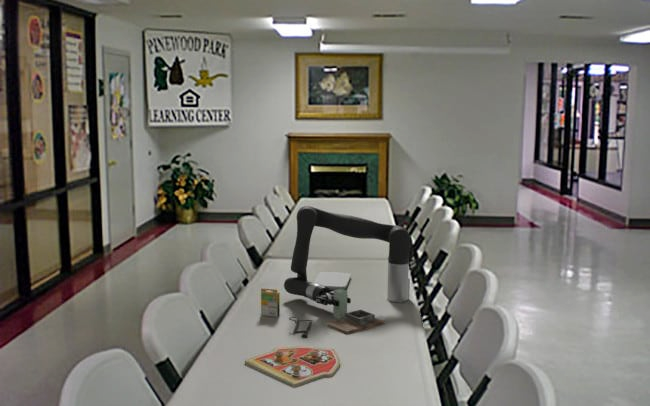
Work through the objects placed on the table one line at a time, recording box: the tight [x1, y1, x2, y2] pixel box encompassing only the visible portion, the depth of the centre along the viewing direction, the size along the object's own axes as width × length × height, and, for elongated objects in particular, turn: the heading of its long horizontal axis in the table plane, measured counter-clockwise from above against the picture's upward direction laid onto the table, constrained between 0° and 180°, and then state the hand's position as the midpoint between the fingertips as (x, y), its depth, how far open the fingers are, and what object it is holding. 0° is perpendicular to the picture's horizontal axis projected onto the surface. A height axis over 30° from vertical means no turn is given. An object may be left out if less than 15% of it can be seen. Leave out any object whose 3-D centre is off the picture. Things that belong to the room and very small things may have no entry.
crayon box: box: [260, 287, 281, 318], centre depth 276 cm, size 7×3×12 cm, turn 74°
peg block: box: [332, 289, 348, 319], centre depth 275 cm, size 4×4×11 cm
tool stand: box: [326, 309, 385, 335], centre depth 265 cm, size 20×12×4 cm, turn 129°
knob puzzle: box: [244, 345, 341, 388], centre depth 226 cm, size 29×30×4 cm
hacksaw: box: [288, 316, 314, 339], centre depth 262 cm, size 24×10×2 cm, turn 174°
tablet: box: [312, 271, 352, 291], centre depth 327 cm, size 16×26×2 cm, turn 172°
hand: (344, 302), depth 273 cm, fingers open, 5 cm apart
